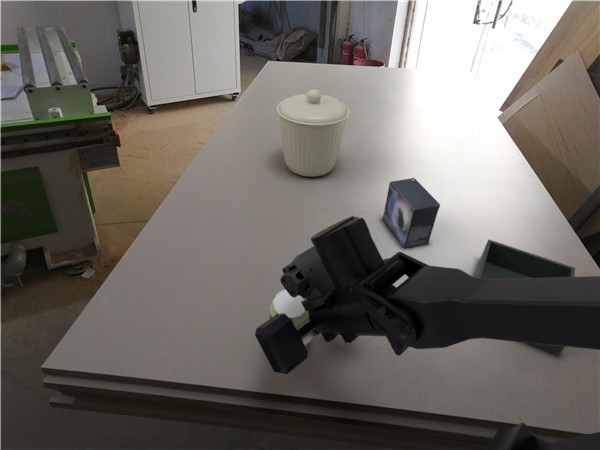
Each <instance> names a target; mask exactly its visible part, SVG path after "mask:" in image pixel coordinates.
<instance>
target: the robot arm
mask: <svg viewBox="0 0 600 450" xmlns="http://www.w3.org/2000/svg"><path fill="white" fill-rule="evenodd" d="M310 242H311V243H312V245H313V246H311V247H309V248H308V249H306V250H305V251H302V252H301V253H300V254H298V255H296V256H295V257H294V259H292V261H291V262H290V263H289V264H287V265H286V266H284V267H283V268H282V269H281V270H282V275H281V277H280V283H281V286H282V287H283V289H286V291H287V292H288V293H289V295H290V296H291V297H293V298H295V297H297V296H298V295H299V296H301V297H302V298H303V299H305V298H306V299H305V300H303V301H302V302H301V303H302V305H303V307H304V309H305V310H306V311H308V315H309V318H307V319H306V320H305V321H303V322H302V323H301V324H299V325H298V326H297V327H295V326H294V324H293V322H292V320H291V319H290V318H289V317H288V316H287V315H286V314H284V313H283V314H276V315H275V316H273V317H272V318H270V317H269V318H268V319H267V320H266V321H265V322H263V323H262V324H260V325H259V326H258V327H256V328H255V333H254V336H255V338H256V340H257V342H258V344H259V346H260V348H261V350H262V352H263V353H264V355H265V357H266V360H267V361H268V363H269V365H270V367H271V369H272V371H273V372H274V373H277V374H283V375H288V374H290V373H291V372H292V371H293V370H295V369H296V368H297V367H298V366H299V365H301V364H302V363H303V362H305V360H307V359H308V354H309V350H308V349H307V348H306V347H305V345H306V344H307V343H308V342H309V343H310V342H311V341H312V340H313V339H315V338H316V337H317V336H318V335H321V337H322V338H323V341H324V342H325V343H331V342H332V341H333V340H335V339H336V338H337V337H338V336H341V338H342V340H343V341H344V344H351V343H353V342H354V341H355V340H356V339H357V338H358V337H385V338H386V339H387V340H388V343H389V345H390V347H391V348H392V350H393V352H394V354H395V355H396V356H398V357H400V356H401V355H402V354H403V353H404V352H405V351H407V349H409V348H411V349H416V350H429V349H430V350H431V349H432V350H433V349H445V348H449V347H451V346H454V345H457V344H460V343H463V342H467V341H470V340H479V339H486V340H495V341H496V340H497V341H506V342H515V343H524V342H525V343H524V344H526V343H535V344H545V345H555V346H565V347H564V348H576V349H577V348H578V349H586V350H594V351H595V350H597V351H600V275H593V276H592V275H590V276H589V275H587V276H575V277H552V278H518V279H481V278H474V277H475V276H472V274H469V273H467V272H466V271H464V270H462V269H459V268H454V267H445V266H437V265H429V264H427V263H425V262H423V261H421V260H419V259H417V258H414V257H412V256H410V255H408V254H407V253H404V252H402V251H397V252H396V253H395V254H393V255H392V256H391V257H388V258H383V257H382V255H381V253H380V252H379V249H378V247H377V245H376V243H375V241H374V239H373V237H372V235H371V232H370V228H369V226H368V224H367V222H366V220H365V218H363V217H359V216H354V215H351V216H349V217H346V218H345V219H342V220H339V221H338V222H336V223H334V224H331V225H330V226H327V227H326V228H324V229H322V230H320V231H319V232H317V233H316V234H314V235H312V236H311V237H310ZM404 276H406V277H407V278H406V279H405V280H404V281H403V282H401V283H399V285H398V286H395V285H394V284H396V283H397V282H398V281H399V280H400V279H402V278H403V277H404ZM309 331H310V332H309ZM307 333H308V334H307ZM484 450H600V431H596V432H593V433H588V434H583V435H579V436H575V437H570V438H566V439H561V440H557V441H553V442H549V441H547V440H545V439H543V438H542V437H540V436H538V435H537V434H535V433H534V432H532V431H531V429H530V428H529V427H528V425H526V423H525V422H520V423H519V424H517V425H515V426H514V427H498V429H497V431H496V432H495V434H494V435H493V437H492V438H491V440H490V442H488V444H487V446H486V448H485V449H484Z"/></svg>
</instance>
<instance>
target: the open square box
mask: <svg viewBox="0 0 600 450" xmlns="http://www.w3.org/2000/svg"><path fill="white" fill-rule="evenodd" d="M480 255H481V256H480V258H479V259H478V264H477V267H476V270H475V272H474V273H475V274H474V276H473V277H474V278H481V279H518V278H552V277H576V267H574V266H570V265H568V264H565V263H562V262H558V261H556V260H554V259H553V260H552V259H549V258H547V257H544V256H540V255H538V254H535V253H531V252H528V251H525V250H522V249H519V248H517V247H513V246H510V245H507V244H504V243H501V242H498V241H495V240H492V239H487V242H486V243H485V246H484V248H483V251H482V253H481V254H480ZM523 343H524V344H526V345H529V346H532V347H534V348H537V349H539V350H542V351H544V352H546V353H549V354H552V355H554V356H556V357H559V355H560V354H561V353H562V351H563V350H564V348H566V347H565V346H555V345H545V344H535V343H525V342H523Z"/></svg>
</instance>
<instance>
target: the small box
mask: <svg viewBox="0 0 600 450" xmlns="http://www.w3.org/2000/svg"><path fill="white" fill-rule="evenodd" d="M387 190H388V191H387V195H386V200H385V205H384V210H383V215H382V222H384V224H385V225H386V227H387V228H388V229H389V231H390V232H391V233H392V234H393V236H394V237H395V238H396V240H397V241H398V243H399V244H400V245H401V247H402V248H403V249H409V248H414V247H419V246H424V245H430V244H429V243H430V239H431V236H432V232H433V229H434V226H435V223H436V219H437V215H438V213H439V210H440V207H441V203H440V202H439V201H438V200H437V199H435V198H434V196H432V194H431V193H429V191H428V190H427V189H426V187H424V186H423V185H422V183H420V182H419V181H418V180H417V179H416V178H415V177H411V178H405V179H404V178H403V179H399V180H392V181H389V184H388V189H387Z"/></svg>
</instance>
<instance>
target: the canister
mask: <svg viewBox="0 0 600 450" xmlns="http://www.w3.org/2000/svg"><path fill="white" fill-rule="evenodd" d="M276 113H277V114H278V116H279V124H280V134H281V144H282V150H283V157H284V163H285V165H286V166H287V168H288V169H289V170H290V171H291V172H292V173H294V174H296V175H299V176H302V177H307V178H308V177H310V178H315V177H320V176H321V177H322V176H325V175H326V174H328V173H330V172H331V171H332V170H333V169H334V167H335V166H336V163H337V160H338V155H339V152H340V149H341V145H342V140H343V135H344V130H345V126H346V122H347V119H348V118H349V117H350V115H351V110H350V108H349V106H348V105H347V104H345V103H344V102H343V101H341V100H340V99H337V98H336V97H333V96H330V95H326V94H322V93H321V91H320V90H318V89H310V90H309V91H307V93H299V94H295V95H291V96H289V97H287V98H285V99H283V100H281V101H280V102H278V104H277V105H276Z"/></svg>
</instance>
